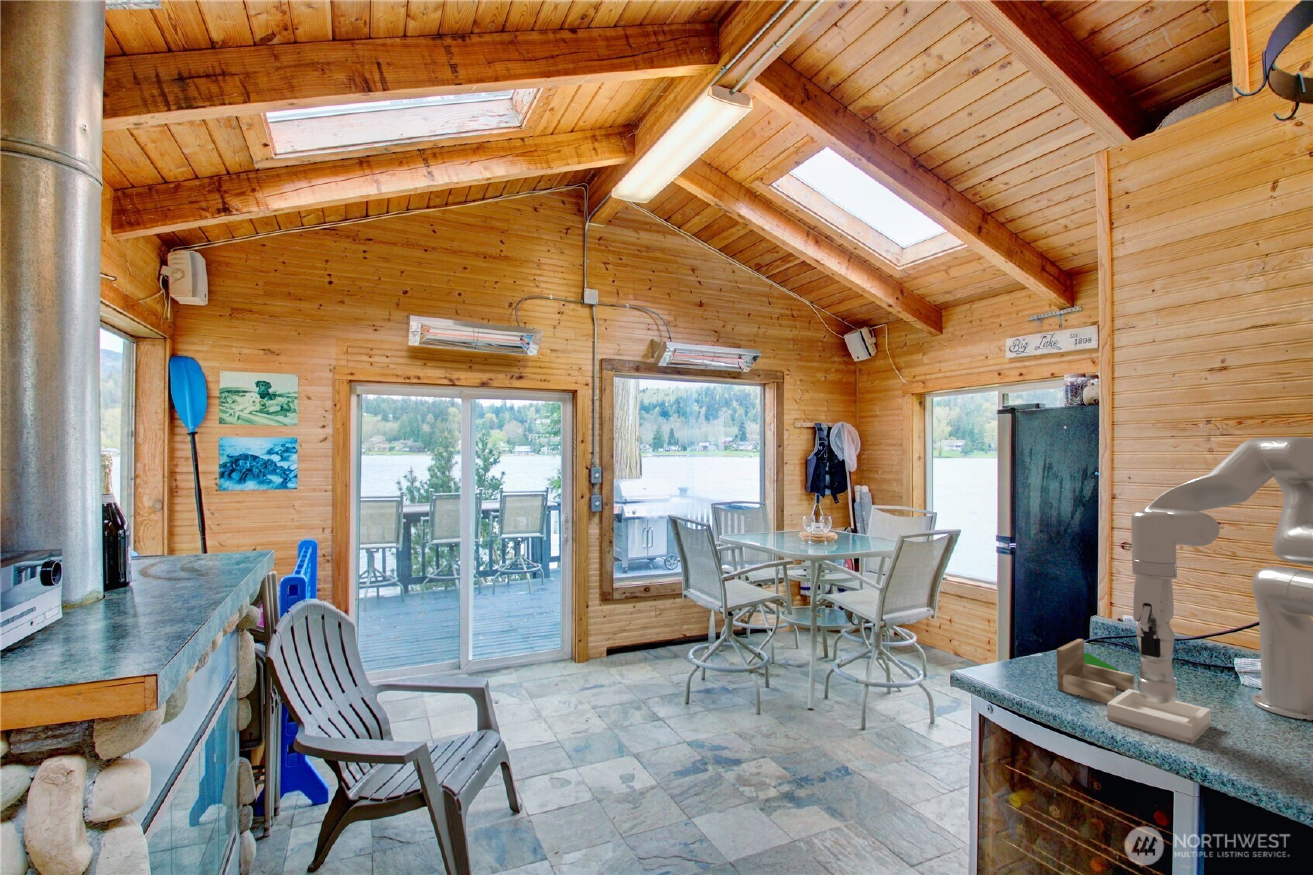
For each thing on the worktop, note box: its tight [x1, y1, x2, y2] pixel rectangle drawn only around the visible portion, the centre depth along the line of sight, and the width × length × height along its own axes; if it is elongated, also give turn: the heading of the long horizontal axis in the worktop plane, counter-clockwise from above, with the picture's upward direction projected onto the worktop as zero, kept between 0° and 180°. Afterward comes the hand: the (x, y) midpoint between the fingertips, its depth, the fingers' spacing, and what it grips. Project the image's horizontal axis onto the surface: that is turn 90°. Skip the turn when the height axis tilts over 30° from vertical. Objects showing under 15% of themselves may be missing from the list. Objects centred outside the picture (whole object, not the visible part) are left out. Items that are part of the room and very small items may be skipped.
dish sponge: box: [1084, 652, 1120, 671], centre depth 168 cm, size 7×14×2 cm, turn 174°
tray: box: [1106, 689, 1212, 745], centre depth 134 cm, size 14×13×4 cm
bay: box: [1056, 638, 1135, 704], centre depth 152 cm, size 12×13×10 cm
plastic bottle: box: [1135, 620, 1178, 704], centre depth 135 cm, size 6×7×20 cm
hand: (1156, 651), depth 135 cm, fingers closed on plastic bottle, 6 cm apart
